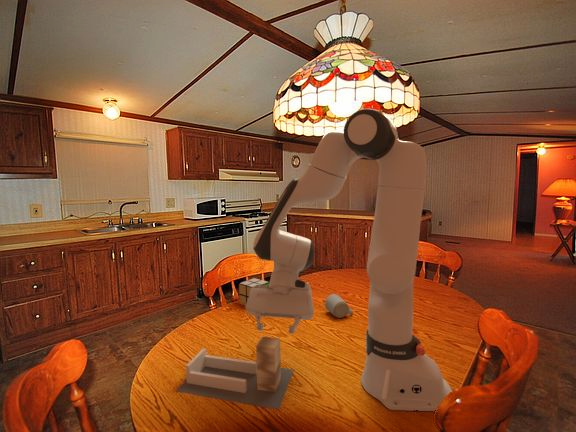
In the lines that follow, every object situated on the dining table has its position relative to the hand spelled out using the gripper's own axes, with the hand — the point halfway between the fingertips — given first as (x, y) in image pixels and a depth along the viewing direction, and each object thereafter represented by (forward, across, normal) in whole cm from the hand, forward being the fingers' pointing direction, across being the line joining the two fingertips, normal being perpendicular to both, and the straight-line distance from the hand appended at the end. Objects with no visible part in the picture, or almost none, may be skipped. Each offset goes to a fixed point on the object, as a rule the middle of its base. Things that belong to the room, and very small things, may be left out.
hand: (275, 331), depth 85 cm
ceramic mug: (-22, +15, +41) cm, 49 cm away
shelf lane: (+13, -9, +5) cm, 17 cm away
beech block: (+13, 0, +5) cm, 13 cm away
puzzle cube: (-25, -24, +43) cm, 55 cm away
